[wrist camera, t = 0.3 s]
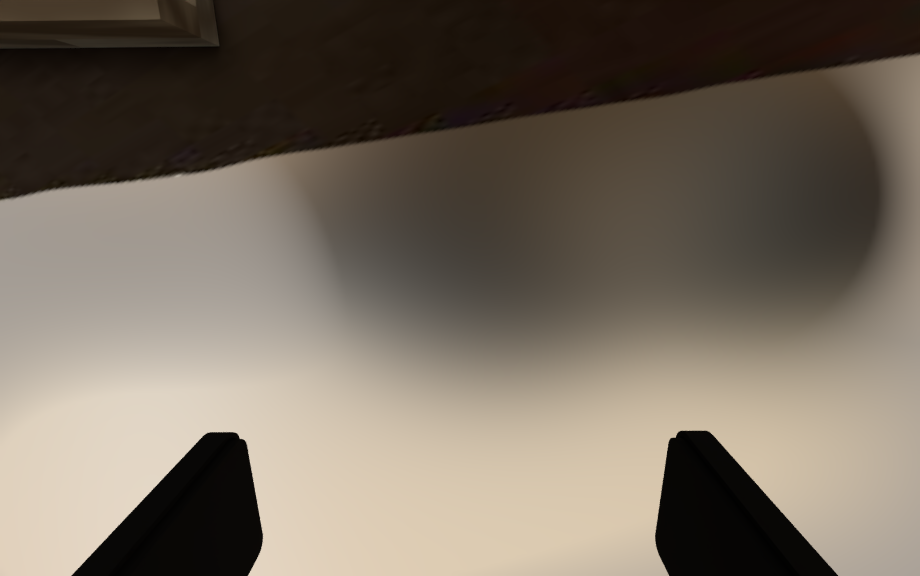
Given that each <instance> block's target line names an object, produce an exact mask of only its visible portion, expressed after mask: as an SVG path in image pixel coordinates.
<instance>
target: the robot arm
mask: <svg viewBox="0 0 920 576" xmlns="http://www.w3.org/2000/svg"><path fill="white" fill-rule="evenodd" d="M655 541H656V547H657V550H658V553H659V556H660V558H661V560H662V562H663V564H664V565H665V568H666V570H667V572H668V574H669V576H838V575H837V574H836V573H835V572H834V570H833V569H832V568H831V567H830V566H829V565H828V564H827V563H826V562H825V560H824V559H823V558H822V557H821V556H820V555H819V554H818V553H817V551H816V550H815V549H814V548H813V547H812V546H811V545H810V544H809V542H808V541H807V540H806V539H805V538H804V537H803V536H802V535H801V533H800V532H799V531H798V530H797V529H796V528H795V527H794V526H793V524H792V523H791V522H790V521H789V520H788V519H787V518H786V517H785V515H784V514H783V513H782V512H781V511H780V510H779V509H778V508H777V507H776V505H775V504H774V503H773V502H772V501H771V500H770V499H769V498H768V496H766V494H765V493H764V492H763V491H762V490H761V489H760V487H759V486H758V485H757V484H756V483H755V482H754V481H753V480H752V479H751V478H750V476H749V475H748V474H747V473H746V472H745V471H744V469H743V468H742V467H741V466H740V465H739V464H738V463H737V462H736V461H735V459H734V458H733V457H732V456H731V455H730V454H729V453H728V452H727V450H726V449H725V448H724V447H723V446H722V445H721V444H720V443H719V442H718V440H717V439H716V438H715V437H714V436H713V435H712V434H711V433H710V432H708V431H680V432H678V433H677V435H676V438H671V439H670V440H669V444H668V451H667V457H666V464H665V471H664V478H663V485H662V492H661V499H660V506H659V513H658V520H657V526H656V533H655ZM262 542H263V533H262V528H261V522H260V516H259V511H258V505H257V499H256V494H255V488H254V482H253V477H252V471H251V466H250V460H249V454H248V449H247V444H246V442H245V440H243V439H240V438H239V436H238V434H237V433H233V432H223V433H222V432H218V433H217V432H210V433H207V434H205V435H204V436H203V437H202V438H201V439H200V440H199V441H198V442H197V443H196V445H194V447H193V448H192V449H191V450H190V451H189V452H188V453H187V454H186V455H185V456H184V457H183V458H182V459H181V460H180V461H179V462H178V463H177V464H176V466H175V467H174V468H173V469H172V470H171V471H170V472H169V473H168V474H167V475H166V476H165V477H164V478H163V479H162V480H161V481H160V482H159V484H158V485H157V486H156V487H155V488H154V489H153V490H152V491H151V492H150V493H149V494H148V495H147V496H146V497H145V498H144V500H142V502H141V503H140V504H139V505H138V506H137V507H136V508H135V509H134V510H133V511H132V512H131V513H130V514H129V515H128V516H127V517H126V518H125V520H124V521H123V522H122V523H121V524H120V525H119V526H118V527H117V528H116V529H115V530H114V531H113V532H112V533H111V534H110V535H109V536H108V538H107V539H106V540H105V541H104V542H103V543H102V544H101V545H100V546H99V547H98V548H97V549H96V550H95V551H94V552H93V553H92V554H91V556H90V557H89V558H88V559H87V560H86V561H85V562H84V563H83V564H82V565H81V566H80V567H79V568H78V569H77V570H76V571H75V573H74V574H73V575H72V576H248V574H249V573H250V571H251V569H252V567H253V565H254V563H255V561H256V559H257V557H258V555H259V553H260V551H261V547H262Z"/></svg>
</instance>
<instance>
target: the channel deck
mask: <svg viewBox="0 0 920 576" xmlns="http://www.w3.org/2000/svg"><path fill="white" fill-rule="evenodd" d="M202 46H219V39H218V32H217V25H216V18H215V11H214V4H213V0H0V49H13V48H108V47H202Z"/></svg>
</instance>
